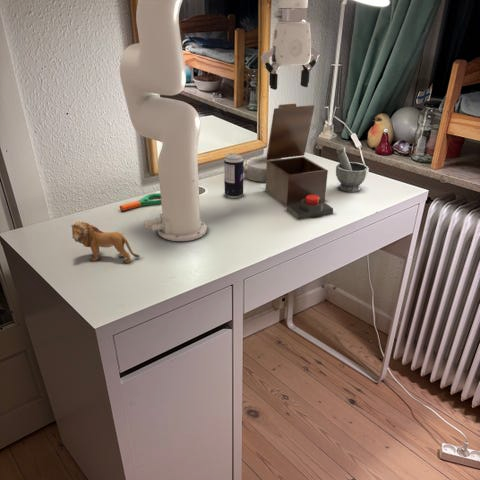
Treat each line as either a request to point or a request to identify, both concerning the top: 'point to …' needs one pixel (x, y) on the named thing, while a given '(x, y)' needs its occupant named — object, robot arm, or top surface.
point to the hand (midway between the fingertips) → (288, 87)
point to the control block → (309, 209)
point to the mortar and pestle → (350, 172)
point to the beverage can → (233, 175)
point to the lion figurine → (100, 239)
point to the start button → (312, 199)
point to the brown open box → (295, 179)
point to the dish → (256, 168)
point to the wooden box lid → (289, 131)
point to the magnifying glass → (142, 202)
